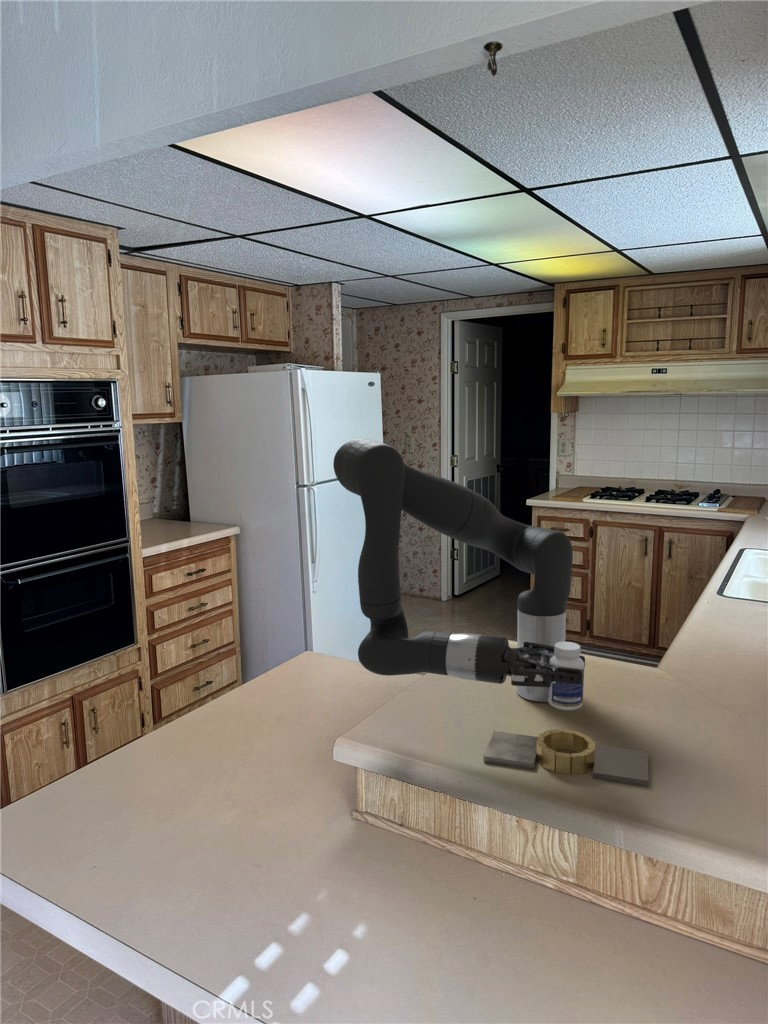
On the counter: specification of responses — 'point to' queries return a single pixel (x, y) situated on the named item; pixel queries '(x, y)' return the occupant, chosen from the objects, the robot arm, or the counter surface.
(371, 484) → the robot arm
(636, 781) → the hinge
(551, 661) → the pill bottle
